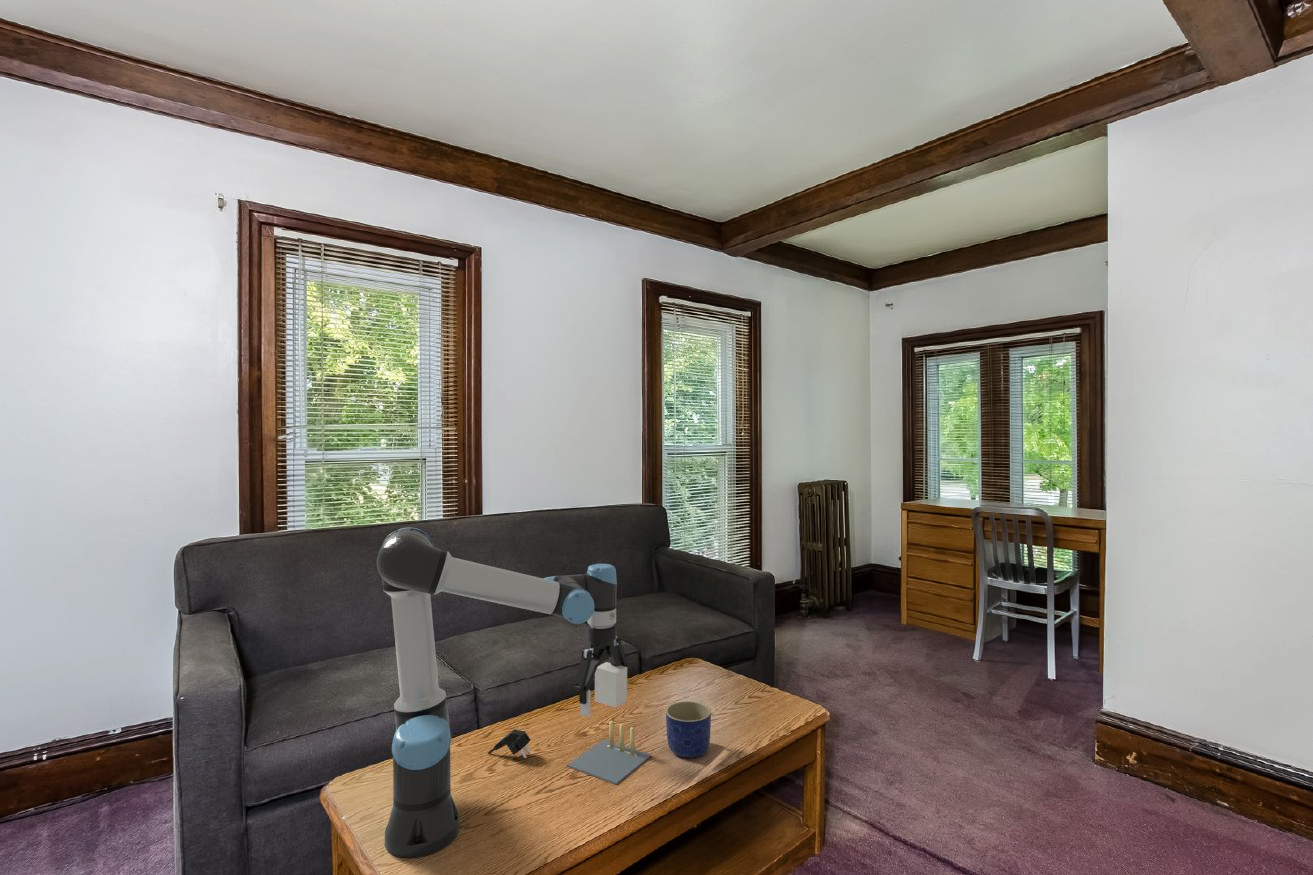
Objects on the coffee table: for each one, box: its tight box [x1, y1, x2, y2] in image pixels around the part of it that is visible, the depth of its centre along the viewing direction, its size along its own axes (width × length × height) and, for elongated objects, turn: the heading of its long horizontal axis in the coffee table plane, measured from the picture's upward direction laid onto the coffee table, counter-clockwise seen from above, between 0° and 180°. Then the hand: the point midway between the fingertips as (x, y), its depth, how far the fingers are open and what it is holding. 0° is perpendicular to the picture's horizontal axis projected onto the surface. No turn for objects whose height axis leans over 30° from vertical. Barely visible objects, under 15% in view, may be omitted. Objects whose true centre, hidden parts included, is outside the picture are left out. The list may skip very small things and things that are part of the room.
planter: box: [665, 700, 712, 759], centre depth 168 cm, size 12×12×11 cm
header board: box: [566, 720, 652, 785], centre depth 163 cm, size 16×16×7 cm
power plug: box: [487, 728, 532, 759], centre depth 166 cm, size 6×8×12 cm
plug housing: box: [594, 661, 628, 709], centre depth 163 cm, size 5×7×9 cm
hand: (601, 705), depth 160 cm, fingers open, 13 cm apart
